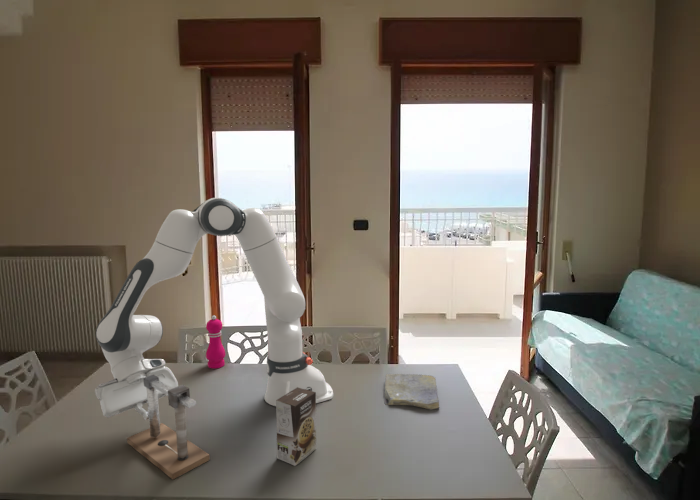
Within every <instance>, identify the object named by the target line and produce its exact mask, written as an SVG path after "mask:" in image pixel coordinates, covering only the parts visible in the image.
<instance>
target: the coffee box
mask: <svg viewBox="0 0 700 500" xmlns="http://www.w3.org/2000/svg"><path fill="white" fill-rule="evenodd" d="M316 406H317V403H316V392H313V391H310V390H306V389H301V388H298V387H297V388H295V389H294V390H292V391H290V392H289V393H287V394H286V395H284V396H282V397H281V398H279V399H277V400H276V406H275V408H276V409H275V411H276V413H275V416H276V417H275V418H276V459H278V460H280V461H282V462H285V463H287V464H289V465H292V466H294V467H296V466H297V465H299V464H300V463H301V462H302V461H303V460H304V459H306V458H307V457H308V456H310V455H311V454H312V453H313V452H314V451H315V450H317V407H316Z"/></svg>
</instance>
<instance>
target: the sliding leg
mask: <svg viewBox="0 0 700 500" xmlns="http://www.w3.org/2000/svg"><path fill="white" fill-rule="evenodd" d="M143 379H144V386H145V387H146V389H147V402H148V403H147V411H148V415H149V419H148V422H149V423H148V424H149V425H148V426H149V428H150V436H151V437H157V436H159V435H160V424H161V420H160V411H159V409H160V407H159V399H158V392H157V390H159V391H160V392H162V393H164V394H165V395H166V396H167V397H168V390H170V389H173V388H172V387H170V386H168V385H166V384H165V383H163V382H161V381H159V377H157V376H155V375H151V376H148V377H145V378H143ZM177 402H179V403H181V404H182V405H184V406H185V408H188V409H189V408H192V407H195V406H196V405H197V400H195V399H193V398H191V396H190V397H188V396H186V395H184V394H183V393H182V394H179V395H177ZM149 428H148V429H149Z"/></svg>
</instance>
